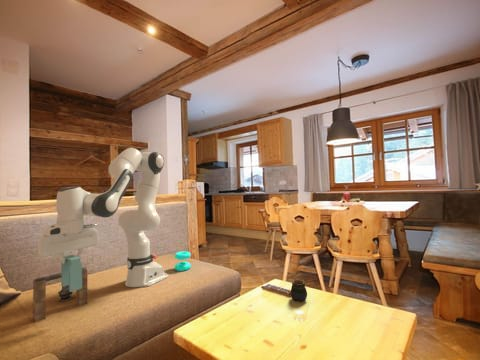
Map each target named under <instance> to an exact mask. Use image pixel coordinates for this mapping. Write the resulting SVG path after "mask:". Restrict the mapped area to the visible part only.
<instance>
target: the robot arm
mask: <svg viewBox="0 0 480 360" xmlns="http://www.w3.org/2000/svg"><path fill="white" fill-rule="evenodd" d="M164 165H165V158H164V156H163V155H162V153H159V152H157V151H156V152H155V151H142V152H141V151H140V150H138V149H137V148H134V147H128V148H126V149H124V150H123V151H121V153H119V154H118V155H117V156H116V157H115V158H114V159H113V160H112V161H111V162H110V164H109V166H108V173H109V175H110V176H111V177H112V179H114V181H113V183H112V184H111V186H110V188H109V189H108V190H107V191H105V192H102V193H92V192H89V191H86V190H85V189H83V188H82V187H81V186H79V185H72V186H65V187H62V188H60V189H59V190H58V191H57V195H56V203H55V204H56V205H55V206H56V207H55V208H56V209H55V210H56V212H57V217H56V223H54V224H52V225H49V226H47V227H44V228H42V229H41V236H40V238H39V241H38V244H37V253H38V255H39V256H41V257H46V256H51V255H57V256H58V257H59V258H60V259H61V261H62V264H64V263H68V261H67V260H68V258H64V257H63V256H64V255H65V253H67V252H71V251H72V252H73V251H78V253H77V254H76V255H75V256H77V257H79V258H80V259H81V256H82V255H83V252H84V249H86V248H91V247H96V246H98V245H99V244H100V236H99V229H100V228H99V226H98V224H96V223H91V224H84V222H85V221H84V216H88V217H101V218H110V217H112V216H114V214H116V212H117V211H118V208H119V206H120V203H121V201H122V198H123V197H124V195H125V193H126V192H127V190H128V188H129V186H130V184H131V183H132V180H133V176H134V175H133V174H134V173H135V172H141V178H140V179H139V182H138V185H137V189H136V193H135V195H134V199H135V201H136V202H137V208H138V209H137V210H134V209H133V210H132V209H131V210H126V211H123V212H121V213H120V215H119V216H118V225H119V226H120V228H121V229H122V230H123V233H124V234H125V237H126V241H127V253H128V254H127V262H126V263H127V264H126V266H127V273H126V277H125V278H126V279H125V282H124V285H125V287H128V288H141V287H142V288H143V287H151V286H152V285H154V284H157V283H158V282H161V281H162V280H165V279H167V278H168V277H169V275H168V273H167V272H164V271H165V270H164V267H163V266H162V265H161V264H159V262H156V261H154V260H155V259H157V255H156V254H151V242H150V239H149V238H148V236H146V233H145V232H151V231H155V230H157V229H158V228H159V226H160V224H161V217H160V214H159V213H158V212H157V210H156V201H157V195H158V192H159V188H160V184H161V183H160V182H161V174H160V173H161V171H162V170H163V168H164Z"/></svg>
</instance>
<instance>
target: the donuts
mask: <svg viewBox="0 0 480 360" xmlns="http://www.w3.org/2000/svg"><path fill="white" fill-rule="evenodd" d="M191 255H192V254H191V252H189V251H186V250H185V251H177V252H176V253H175V254H174V258H175V259H176V260H179V261H181V262H177V263H176V264H175V265H174V269H175V270H176V271H177V272H185V271H188V270H189V269H191V267H192V265H191V263H190V262H188V261H184V260H187V259H189V258H190V257H191Z"/></svg>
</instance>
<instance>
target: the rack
mask: <svg viewBox="0 0 480 360" xmlns="http://www.w3.org/2000/svg"><path fill="white" fill-rule="evenodd" d="M57 279H61V272H59V273H55V274H50V275H47V276H43V277H38V278H34V279H33V282H32V287H33V288H32V290H33V292H32V301H33V302H32V319H33V321H34V322H35V323H37V322H40V321H43V320H46V310H47V309H46V305H47V304H46V301H47V299H46V298H47V293H46V289H47V286H46V284H47V282H50V281H53V280H57ZM75 292H76V294H75V295H76V296H75V297H76V298H75V299H76V301H75V302H76V305H77V306H78V307H83V306H85V305H88V269H87V267H86V266H82V289H79V290H76V291H75Z"/></svg>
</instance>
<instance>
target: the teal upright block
mask: <svg viewBox="0 0 480 360" xmlns="http://www.w3.org/2000/svg"><path fill="white" fill-rule="evenodd" d="M62 256H63V257H64V258H68V260H67V261H68V263H64V264H62V260H60V270H61V271H60V273H61V278H60V279H61V280H60V281H61V282H60V283H61V288H62V287H64V286H67V285H69V291H70V292H72V291H73V292H76V290H79V289H82V268H83V263H82V262H81V257H80V258H79V257H77V256H76V255H74V254H71V253H69V254H64V255H62ZM73 292H72V293H73Z"/></svg>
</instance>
